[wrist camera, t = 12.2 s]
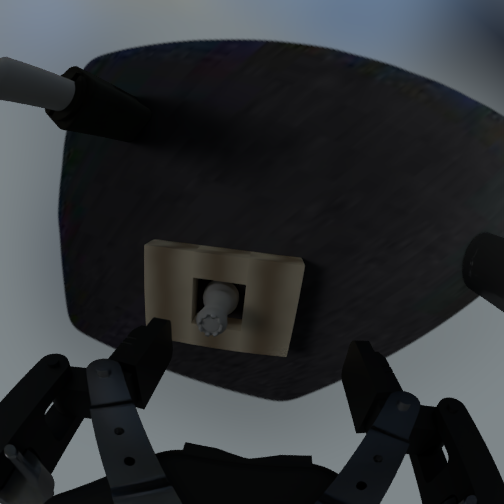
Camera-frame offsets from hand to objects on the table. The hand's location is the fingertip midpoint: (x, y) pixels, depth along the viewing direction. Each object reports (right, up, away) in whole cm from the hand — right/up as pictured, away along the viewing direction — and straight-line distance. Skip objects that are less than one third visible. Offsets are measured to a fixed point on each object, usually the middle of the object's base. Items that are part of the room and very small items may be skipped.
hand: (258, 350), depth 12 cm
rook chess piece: (-4, -1, +23) cm, 23 cm away
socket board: (-4, -1, +23) cm, 23 cm away
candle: (-16, +21, +18) cm, 32 cm away
